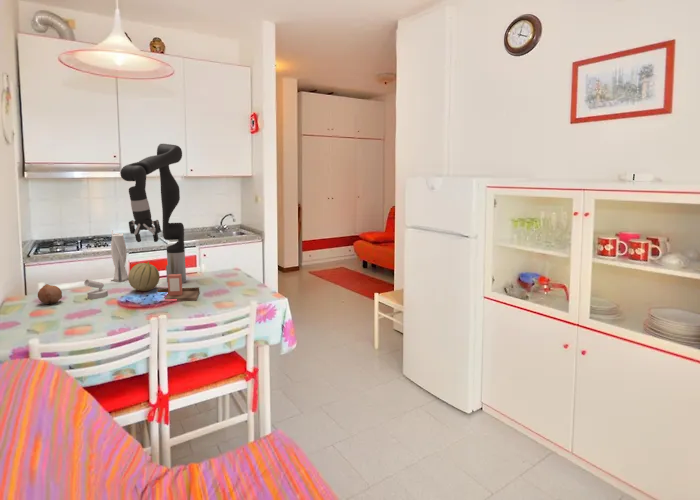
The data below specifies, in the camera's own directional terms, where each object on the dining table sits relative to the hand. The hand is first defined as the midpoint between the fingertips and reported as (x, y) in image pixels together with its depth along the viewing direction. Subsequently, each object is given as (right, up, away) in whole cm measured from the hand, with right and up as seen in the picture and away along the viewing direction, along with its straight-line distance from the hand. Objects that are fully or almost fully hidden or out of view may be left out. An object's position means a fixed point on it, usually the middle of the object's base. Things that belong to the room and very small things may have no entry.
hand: (147, 241), depth 213 cm
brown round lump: (-43, -29, -5) cm, 52 cm away
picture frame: (+10, -26, +8) cm, 29 cm away
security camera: (-28, -27, +7) cm, 40 cm away
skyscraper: (-33, -21, +38) cm, 55 cm away
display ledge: (+11, -28, +8) cm, 31 cm away
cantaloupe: (-10, -25, +19) cm, 33 cm away
